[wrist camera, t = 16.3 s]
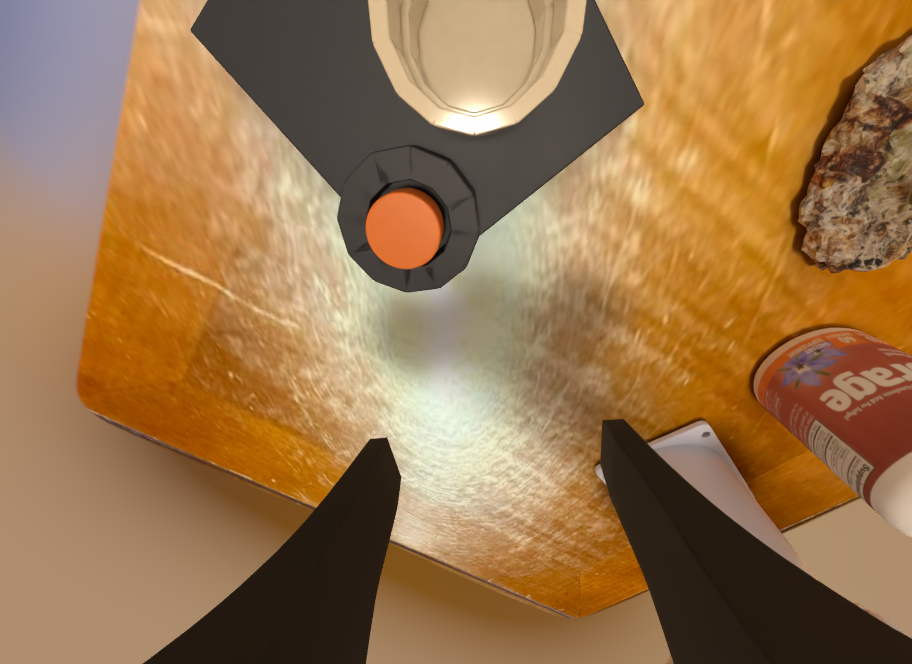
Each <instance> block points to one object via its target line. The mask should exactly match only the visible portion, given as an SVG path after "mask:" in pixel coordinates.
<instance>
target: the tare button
mask: <svg viewBox="0 0 912 664" xmlns="http://www.w3.org/2000/svg"><path fill="white" fill-rule="evenodd" d="M443 232H444V220H443V216H442V213H441V210H440V208H439V207H438V205H437V204H436V202H435V201H434V200H433V199H432V198H431V197H430V196H429V195H427V194H426V193H424V192H422V191H420V190H417V189H414V188H400V189H396V190H394V191H391V192H390V193H388V194H386V195H384V196H382V197H381V198H379V199H378V200H377V201H376V202H375V203H374V204H373V205H372V207H371V208H370V210H369V212H368V215H367V218H366V236H367V239H368V242H369V245H370V247H371V248H372V250H373V251H374V253H375V254H376V255H377V256H378V257H379V258H380V259H381V260H382V261H384V262H385V263H387V264H388V265H390V266H393V267H396V268H400V269H413V268H417V267H420V266H422V265H424V264H426V263H427V262H428V261H429V260H431V259H432V257H433V256H434V255H435V253H436V252H437V250H438V247H439V245H440V242H441V240H442V237H443Z"/></svg>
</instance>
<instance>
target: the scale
mask: <svg viewBox="0 0 912 664" xmlns="http://www.w3.org/2000/svg"><path fill="white" fill-rule="evenodd" d="M191 32H192V33H193V34H194V35H195V36H196V37H197V39H198V40H199V41H200V42H201V43H202V44H203V45H204V46H205V47H206V49H207V50H208V51H209V52H210V53H211V54H212V55H213V56H214V57H215V59H216V60H217V61H218V62H219V63H220V64H221V65H222V66H223V67H224V68H225V70H226V71H227V72H228V73H229V74H230V75H231V76H232V77H233V78H234V80H235V81H236V82H237V83H238V84H239V85H240V86H241V87H242V88H243V89H244V91H245V92H246V93H247V94H248V95H249V96H250V97H251V98H252V99H253V101H254V102H255V103H256V104H257V105H258V106H259V107H260V108H261V109H262V111H263V112H264V113H265V114H266V115H267V116H268V117H269V118H270V119H271V120H272V122H273V123H274V124H275V125H276V126H277V127H278V128H279V129H280V130H281V132H282V133H283V134H284V135H285V136H286V137H287V138H288V139H289V140H290V141H291V143H292V144H293V145H294V146H295V147H296V148H297V149H298V150H299V151H300V153H301V154H302V155H303V156H304V157H305V158H306V159H307V160H308V161H309V163H310V164H311V165H312V166H313V167H314V168H315V169H316V170H317V171H318V172H319V174H320V175H321V176H322V177H323V178H324V179H325V180H326V181H327V182H328V184H329V185H330V186H331V187H332V188H333V189H334V190H335V191H336V192H337V194H338V195H339V196H340V197H341V200H340V206H339V211H338V216H337V218H338V219H337V220H338V223H339V226H340V229H341V233H342V236H343V239H344V242H345V245H346V248H347V251H348V254H350V256H351V258H352V259H353V260H354V261H355V262H356V263H357V264H358V265H359V266H360V267H361V268H362V269H363V270H364V271H365V272H366V273H367V274H368V275H369V276H370V277H371V278H372V279H373V280H375V281H376V282H378V283H381V284H384V285H387V286H389V287H392V288H395V289H398V290H400V291H403V292H415V291H423V290H430V289H437V288H441V287H442V286H443V285H445V284H446V283H447V282H449V281H450V280H451V279H453V278H454V277H455V276H456V275H458V274H459V273H460V272H462V271H463V270H464V269H465V268H466V266H467V265H468V262H469V260H470V257H471V255H472V252H473V250H474V247H475V245H476V243H477V240H478V238H479V236H480V235H481V234H482V233H484V232H485V231H486V230H487V229H489V228H490V227H491V226H493V225H494V224H495V223H496V222H498V221H499V220H500V219H501V218H503V217H504V216H505V215H506V214H508V213H509V212H510V211H511V210H513V209H514V208H515V207H516V206H518V205H519V204H520V203H521V202H523V201H524V200H525V199H526V198H528V197H529V196H530V195H531V194H533V193H534V192H535V191H536V190H538V189H539V188H540V187H542V186H543V185H544V184H545V183H547V182H548V181H549V180H550V179H552V178H553V177H554V176H555V175H557V174H558V173H559V172H560V171H562V170H563V169H564V168H565V167H567V166H568V165H569V164H570V163H572V162H573V161H574V160H575V159H577V158H578V157H579V156H580V155H582V154H583V153H584V152H585V151H587V150H588V149H589V148H591V147H592V146H593V145H594V144H596V143H597V142H598V141H599V140H601V139H602V138H603V137H604V136H606V135H607V134H608V133H609V132H611V131H612V130H613V129H614V128H616V127H617V126H618V125H619V124H621V123H622V122H623V121H624V120H626V119H627V118H628V117H629V116H631V115H632V114H633V113H635V112H636V111H637V110H638V109H640V108H641V107H642V106H643V105H644V102H643V100H642V98H641V96H640V93H639V91H638V89H637V87H636V85H635V83H634V81H633V79H632V77H631V75H630V73H629V71H628V68H627V66H626V64H625V62H624V60H623V58H622V56H621V54H620V52H619V50H618V48H617V45H616V43H615V41H614V39H613V37H612V35H611V33H610V31H609V29H608V27H607V25H606V23H605V20H604V18H603V16H602V14H601V12H600V10H599V8H598V6H597V4H596V2H595V0H587V1H586V9H585V17H584V25H583V32H582V35H581V39H580V41H579V43H578V45H577V47H576V49H575V51H574V53H573V55H572V57H571V59H570V61H569V63H568V65H567V67H566V69H565V71H564V73H563V75H562V77H561V79H560V81H559V83H558V85H557V87H556V88H555V89H554V91H553V92H552V93H551V94H550V95H549V96H548V97H547V98H546V99H545V100H543V101H542V102H541V103H540V104H539V105H538V106H537V107H536V108H535V109H533V110H532V111H531V112H530V113H529V114H528V115H527V116H526V117H525V118H523V119H522V120H521V121H520V122H519V123H517V124H516V125H514V126H512V127H510V128H508V129H506V130H504V131H500V132H497V133H493V134H490V135H486V136H483V137H479V138H471V137H467V136H463V135H459V134H454V133H450V132H446V131H444V130H442V129H439V128H437V127H435V126H433V125H431V124H430V123H429V122H428V121H426V120H425V119H424V118H423V117H422V116H421V115H420V114H418V113H417V112H416V111H415V110H414V109H413V108H412V107H411V106H409V105H408V104H407V103H406V102H405V101H404V100H403V99H401V98H400V97H399V96H398V94H397V93H396V92H395V90H394V88H393V85H392V83H391V81H390V79H389V77H388V75H387V73H386V71H385V69H384V67H383V65H382V63H381V60H380V58H379V56H378V54H377V52H376V50H375V48H374V45H373V42H372V36H371V26H370V17H369V7H368V0H208V1H207V2H206V4H205V6H204V8H203V9H202V11H201V13H200V14H199V16H198V18H197V19H196V21H195V23H194V24H193V26H192V28H191ZM400 188H414V189H417V190H420V191H422V192H424V193H426V194H427V195H429V196H430V197H431V198H432V199H433V200H434V201H435V202H436V204H437V205H438V207H439V208H440V210H441V213H442V216H443V220H444V232H443V237H442V240H441V242H440V245H439V247H438V250H437V252H436V253H435V255H434V256H433V257H432V259H431V260H429V261H428V262H427V263H426V264H424V265H422V266H420V267H417V268H413V269H400V268H396V267H393V266H390V265H388V264H387V263H385V262H384V261H382V260H381V259H380V258H379V257H378V256H377V255H376V254H375V253H374V251H373V250H372V248H371V247H370V245H369V242H368V239H367V236H366V218H367V215H368V212H369V210H370V208H371V207H372V205H373V204H374V203H375V202H376V201H377V200H378V199H379V198H381V197H382V196H384V195H386V194H388V193H390V192H391V191H394V190H396V189H400Z"/></svg>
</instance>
